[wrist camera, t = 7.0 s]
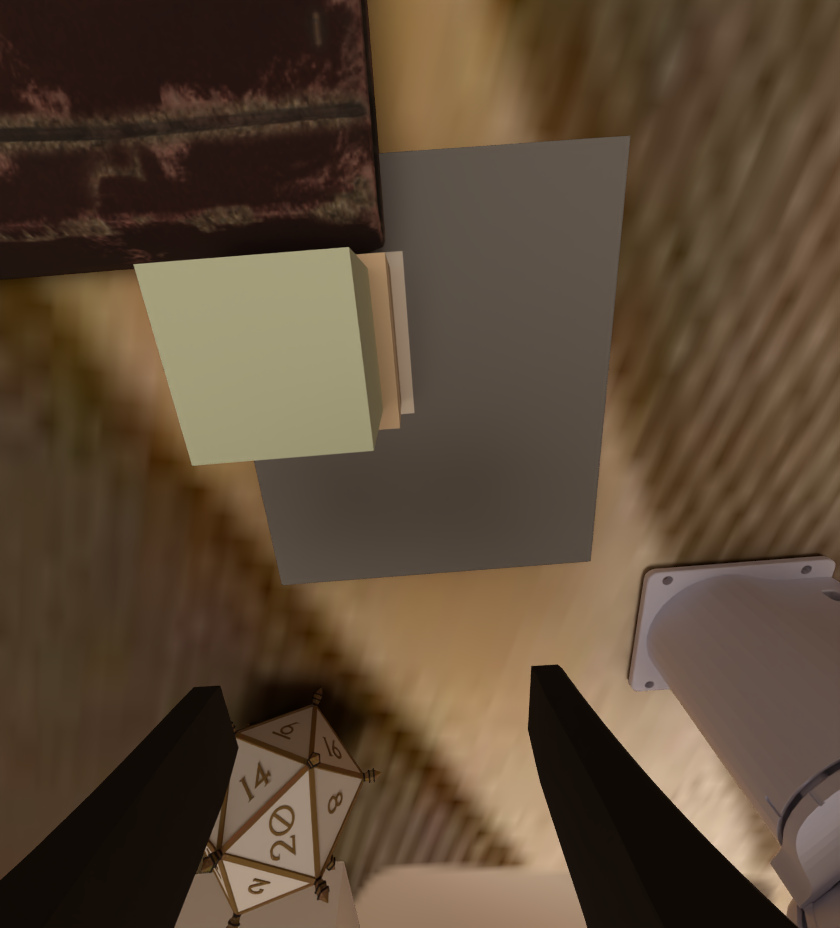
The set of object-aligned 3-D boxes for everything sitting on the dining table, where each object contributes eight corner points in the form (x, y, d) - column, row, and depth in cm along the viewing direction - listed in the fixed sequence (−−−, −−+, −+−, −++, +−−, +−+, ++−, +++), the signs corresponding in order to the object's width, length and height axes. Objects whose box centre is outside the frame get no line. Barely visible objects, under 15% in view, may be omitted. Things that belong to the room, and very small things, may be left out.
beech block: (389, 266, 15) (384, 252, 11) (401, 401, 17) (400, 428, 13) (253, 276, 15) (202, 265, 11) (279, 411, 17) (242, 439, 13)
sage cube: (367, 268, 11) (348, 247, 8) (383, 409, 13) (373, 450, 9) (223, 280, 11) (133, 264, 8) (254, 420, 13) (191, 465, 9)
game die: (286, 656, 27) (149, 711, 18) (408, 692, 24) (322, 779, 15) (256, 807, 25) (87, 956, 16) (381, 863, 23) (267, 1079, 13)
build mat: (621, 142, 14) (631, 134, 14) (585, 554, 20) (591, 562, 20) (196, 172, 14) (186, 166, 14) (285, 577, 20) (281, 586, 20)
